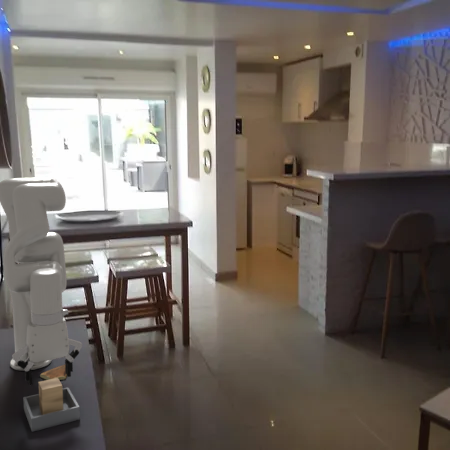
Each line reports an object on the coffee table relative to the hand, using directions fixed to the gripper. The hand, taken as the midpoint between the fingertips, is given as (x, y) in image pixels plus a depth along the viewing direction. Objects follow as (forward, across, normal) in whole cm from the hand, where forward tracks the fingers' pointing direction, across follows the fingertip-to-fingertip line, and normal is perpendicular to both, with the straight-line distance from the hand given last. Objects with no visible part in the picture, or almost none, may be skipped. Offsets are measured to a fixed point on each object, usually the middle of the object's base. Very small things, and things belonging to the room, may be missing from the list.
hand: (49, 378), depth 131 cm
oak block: (+9, 0, +1) cm, 9 cm away
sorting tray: (+10, 0, +1) cm, 10 cm away
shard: (+11, -6, -23) cm, 26 cm away
